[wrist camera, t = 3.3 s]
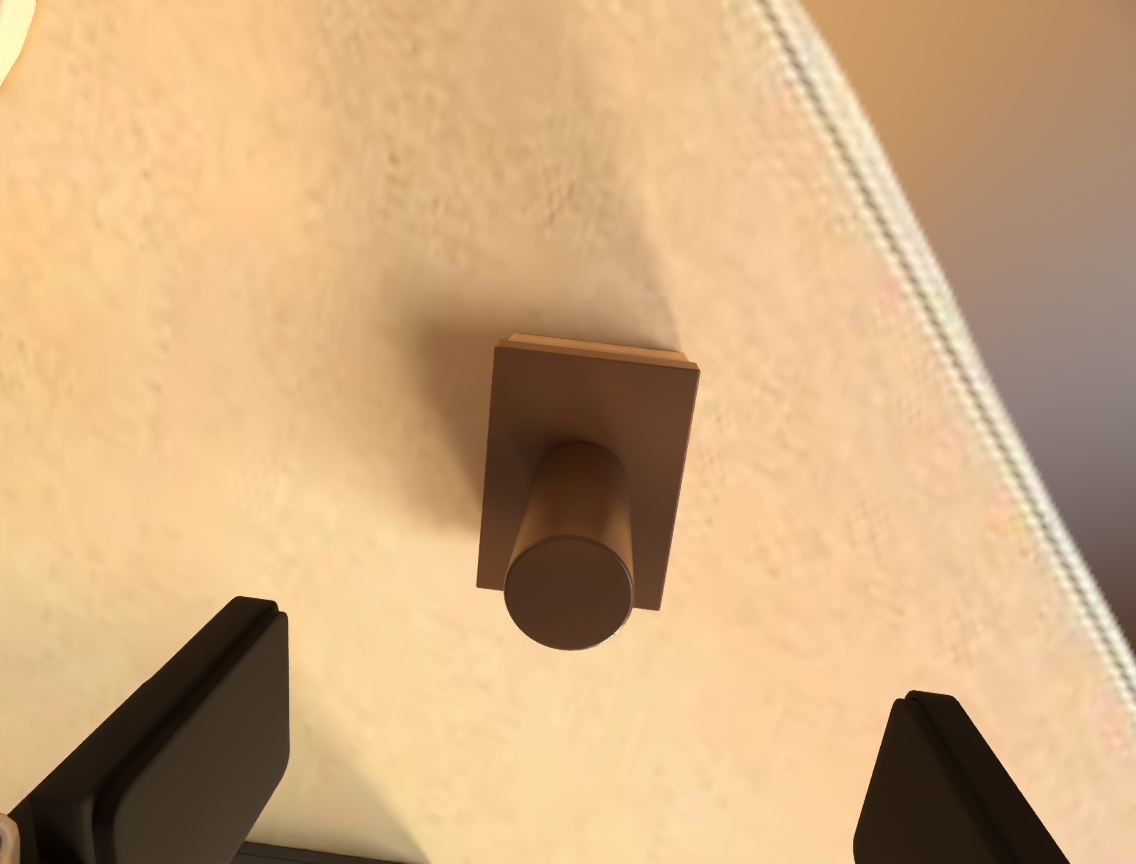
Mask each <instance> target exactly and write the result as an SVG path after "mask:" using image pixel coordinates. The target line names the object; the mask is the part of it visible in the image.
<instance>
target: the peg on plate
mask: <svg viewBox="0 0 1136 864" xmlns="http://www.w3.org/2000/svg"><path fill="white" fill-rule="evenodd" d="M699 377H700V370H699V368H698V366H697V364H696V363H694V362H689V361H688V359H687V357H686V355H685V354H684V353H679V352H670V351H662V350H653V349H645V348H637V347H628V346H620V345H611V344H603V343H595V342H586V341H578V340H569V339H561V338H552V337H544V336H536V335H527V334H519V333H514V334H512V336H511V337H510V338H509V339H508V340H500V341H499V342H498V344H497V345H496V346H495V349H494V362H493V375H492V388H491V401H490V414H489V427H488V440H487V453H486V466H485V479H484V492H483V505H482V518H481V531H480V544H479V557H478V570H477V583H476V586H477V588H484V589H492V590H500V591H504V599H505V603H506V607H507V609H508V612H509V614H510V616H511V617H512V619H513V621H514V622H515V624H516V625H517V626H518V627H519V629H520V630H521V631H523V632H524V633H525V634H526V635H527V636H528V637H530V638H531V639H533V640H534V641H536V642H538V643H540V644H542V645H544V646H547V647H550V648H554V649H559V650H568V651H573V650H583V649H588V648H592V647H595V646H597V645H600V644H602V643H604V642H606V641H607V640H609V639H610V638H612V637H613V636H614V635H615V634H616V633H617V632H618V631H619V630H620V629H621V628H622V627H623V626H624V624H625V623H626V621H627V620H628V618H629V616H630V614H631V611H632V608H639V609H647V610H654V611H659V610H660V607H661V601H662V595H663V589H664V583H665V577H666V572H667V566H668V560H669V554H670V548H671V542H672V536H673V530H674V524H675V518H676V513H677V507H678V501H679V495H680V489H681V483H682V477H683V471H684V465H685V460H686V454H687V448H688V442H689V436H690V430H691V424H692V418H693V412H694V407H695V401H696V395H697V389H698V383H699Z"/></svg>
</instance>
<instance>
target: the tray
mask: <svg viewBox="0 0 1136 864" xmlns="http://www.w3.org/2000/svg"><path fill="white" fill-rule="evenodd" d="M230 864H397V863H390V862H383V861H376V860H368V859H361V858H354V857H347V856H340V855H333V854H326V853H319V852H312V851H304V850H297V849H290V848H283V847H276V846H269V845H262V844H255V843H247V842H243V843H242V845H241V846H240V848H239V849H238V851H237V853H236V854H235V856H234V858H233V859H232V861H231V862H230Z"/></svg>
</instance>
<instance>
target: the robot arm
mask: <svg viewBox="0 0 1136 864" xmlns="http://www.w3.org/2000/svg"><path fill="white" fill-rule="evenodd" d="M36 1H37V0H0V85H1V84H2V82H3V81H4V79H5V77H6V76H7V74H8V72H9V71H10V69H11V68H12V66H13V64H14V63H15V61H16V59H17V58H18V56H19V55H20V53H21V50H22V47H23V44H24V41H25V38H26V36H27V33H28V30H29V27H30V24H31V21H32V18H33V16H34V13H35V8H36ZM289 752H290V741H289V652H288V616H287V614H286V613H285V612H281V611H279V610H278V606H277V603H276V602H275V601H272V600H265V599H258V598H251V597H243V596H237V597H235V598H233V599H232V600H231V601H230V602H229V603H228V604H227V605H226V606H225V607H224V608H223V609H222V610H221V611H220V612H219V613H217V614H216V615H215V616H214V617H213V618H212V619H211V620H210V621H209V622H208V623H207V624H206V625H205V626H204V627H203V628H202V629H201V630H200V631H199V632H198V633H197V634H196V635H195V636H194V637H193V638H192V639H191V640H190V641H189V642H188V643H187V644H186V645H185V646H183V647H182V648H181V649H180V650H179V651H178V652H177V653H176V654H175V655H174V656H173V657H172V658H171V659H170V660H169V661H168V662H167V663H166V664H165V665H164V666H163V667H162V668H161V669H160V670H159V671H158V672H157V673H156V674H155V675H154V676H153V677H151V678H150V679H149V680H147V681H146V682H145V683H143V684H142V685H141V686H140V687H139V688H138V689H137V690H136V691H135V692H134V693H133V694H132V695H131V696H130V697H129V698H128V699H127V700H126V701H125V702H124V703H123V704H122V705H121V706H120V707H118V708H117V709H116V710H115V711H114V712H113V713H112V714H111V715H110V716H109V717H108V718H107V719H106V720H105V721H104V722H103V723H102V724H101V725H100V726H99V727H98V728H97V729H96V730H95V731H94V732H93V733H92V734H91V735H89V736H88V737H87V738H86V739H85V740H84V741H83V742H82V743H81V744H80V745H79V746H78V747H77V748H76V749H75V750H74V751H73V752H72V753H71V754H70V755H69V756H68V757H67V758H66V759H65V760H64V761H63V762H62V763H61V764H59V765H58V766H57V767H56V768H55V769H54V770H53V771H52V772H51V773H50V774H49V775H48V776H47V777H46V778H45V779H44V780H43V781H42V782H41V783H40V784H39V785H38V786H37V787H36V788H35V789H34V790H33V791H32V792H31V793H29V794H28V795H27V796H26V797H25V798H24V799H23V800H22V801H21V802H20V803H19V804H18V805H17V806H16V807H15V808H14V809H13V810H12V811H11V812H10V813H9V814H8V815H5V814H2V813H0V864H230V862H231V861H232V859H233V858H234V856H235V854H236V853H237V851H238V849H239V848H240V846H241V845H242V843H243V841H244V840H245V838H246V836H247V835H248V833H249V831H250V830H251V828H252V827H253V825H254V823H255V822H256V820H257V818H258V817H259V815H260V813H261V812H262V810H263V809H264V807H265V805H266V804H267V802H268V800H269V799H270V797H271V796H272V794H273V792H274V791H275V789H276V787H277V786H278V784H279V782H280V781H281V779H282V777H283V775H284V773H285V770H286V767H287V764H288V760H289ZM853 854H854V860H855V864H1070V863H1069V861H1068V860H1067V858H1066V857H1065V855H1064V854H1063V853H1062V851H1061V850H1060V848H1059V847H1058V845H1057V844H1056V842H1055V841H1054V839H1053V838H1052V837H1051V835H1050V834H1049V832H1048V831H1047V829H1046V828H1045V826H1044V825H1043V824H1042V822H1041V821H1040V819H1039V818H1038V816H1037V815H1036V813H1035V812H1034V811H1033V809H1032V808H1031V806H1030V805H1029V803H1028V802H1027V800H1026V799H1025V797H1024V796H1023V795H1022V793H1021V792H1020V790H1019V789H1018V787H1017V786H1016V784H1015V783H1014V782H1013V780H1012V779H1011V777H1010V776H1009V774H1008V773H1007V771H1006V770H1005V768H1004V767H1003V766H1002V764H1001V763H1000V761H999V760H998V758H997V757H996V755H995V754H994V753H993V751H992V750H991V748H990V747H989V745H988V744H987V742H986V741H985V740H984V738H983V737H982V735H981V734H980V732H979V731H978V729H977V728H976V726H975V725H974V724H973V722H972V721H971V719H970V718H969V716H968V715H967V713H966V712H965V711H964V709H963V708H962V706H961V705H960V703H959V702H958V701H957V700H956V699H955V698H954V697H953V696H950V695H944V694H937V693H930V692H923V691H916V690H912V691H909V692H908V694H907V695H906V697H905V699H901V698H899V699H896V700H895V702H894V703H893V706H892V709H891V712H890V716H889V719H888V722H887V726H886V729H885V733H884V736H883V739H882V743H881V746H880V750H879V753H878V756H877V760H876V763H875V767H874V770H873V773H872V777H871V780H870V784H869V787H868V790H867V794H866V797H865V801H864V804H863V807H862V811H861V814H860V818H859V821H858V824H857V828H856V831H855V835H854V840H853Z"/></svg>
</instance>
